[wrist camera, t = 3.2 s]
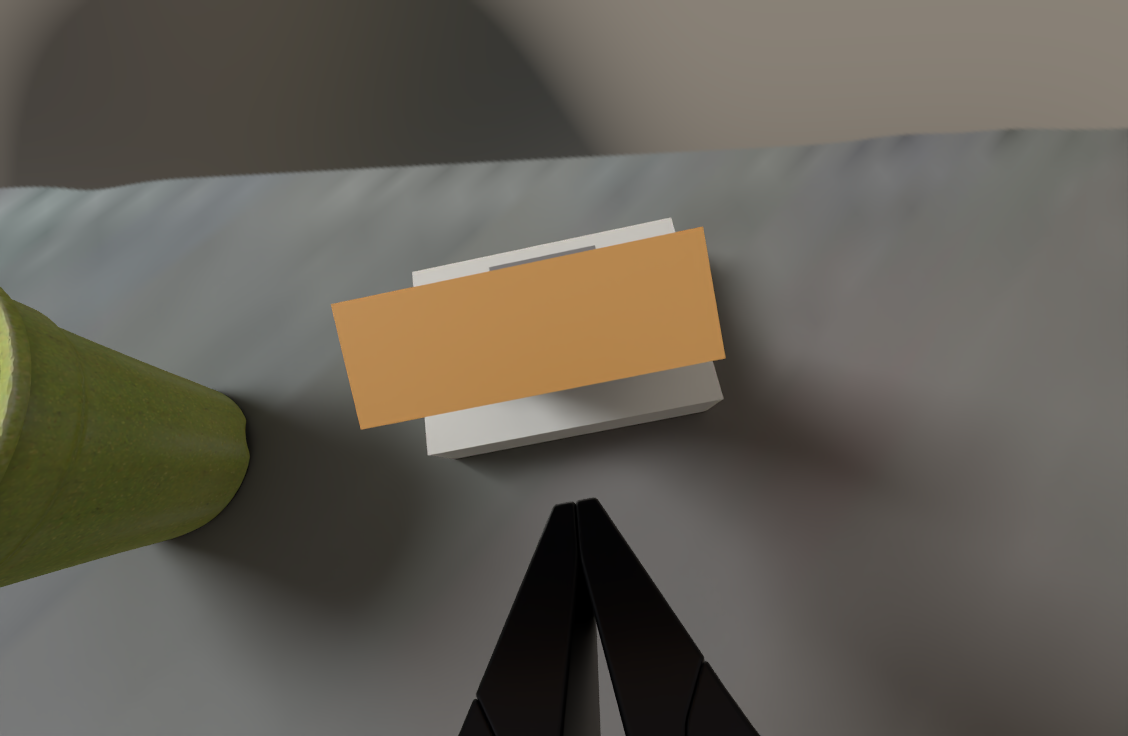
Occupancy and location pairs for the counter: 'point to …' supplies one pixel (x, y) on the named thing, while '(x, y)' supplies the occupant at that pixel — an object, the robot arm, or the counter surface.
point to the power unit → (567, 407)
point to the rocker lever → (531, 329)
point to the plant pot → (102, 449)
